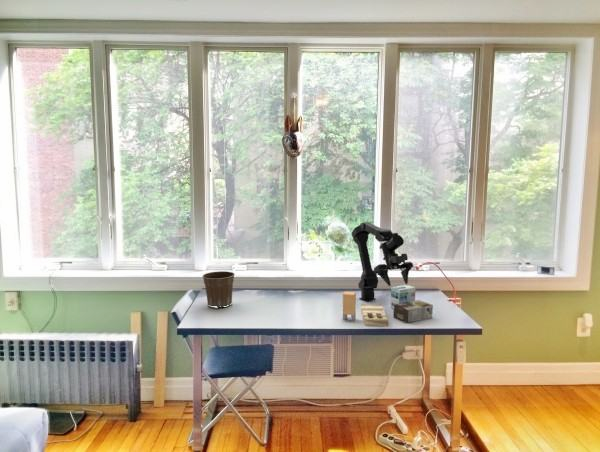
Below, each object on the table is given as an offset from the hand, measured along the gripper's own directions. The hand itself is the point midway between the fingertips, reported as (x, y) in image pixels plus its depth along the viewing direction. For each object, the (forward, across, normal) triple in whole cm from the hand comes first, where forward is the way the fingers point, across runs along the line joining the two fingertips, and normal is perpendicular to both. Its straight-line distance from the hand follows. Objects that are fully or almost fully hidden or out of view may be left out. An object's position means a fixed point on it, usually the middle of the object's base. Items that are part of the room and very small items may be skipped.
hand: (398, 284), depth 199 cm
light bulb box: (+8, +10, +17) cm, 21 cm away
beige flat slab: (+12, -11, +10) cm, 19 cm away
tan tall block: (+11, -23, +12) cm, 28 cm away
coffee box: (+12, +14, +4) cm, 19 cm away
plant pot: (-12, -76, +49) cm, 91 cm away
